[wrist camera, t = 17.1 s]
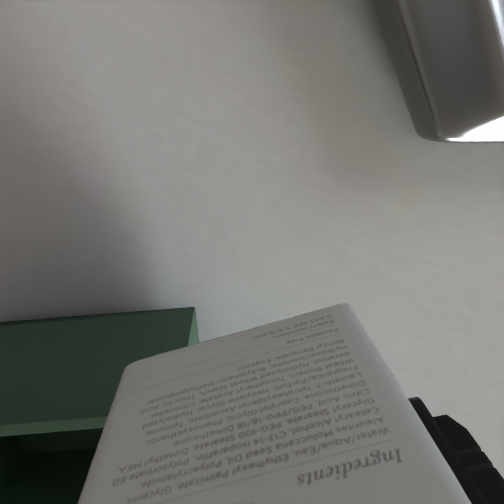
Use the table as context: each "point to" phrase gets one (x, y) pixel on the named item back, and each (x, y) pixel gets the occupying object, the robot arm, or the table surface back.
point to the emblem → (449, 65)
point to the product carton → (269, 424)
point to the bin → (69, 393)
